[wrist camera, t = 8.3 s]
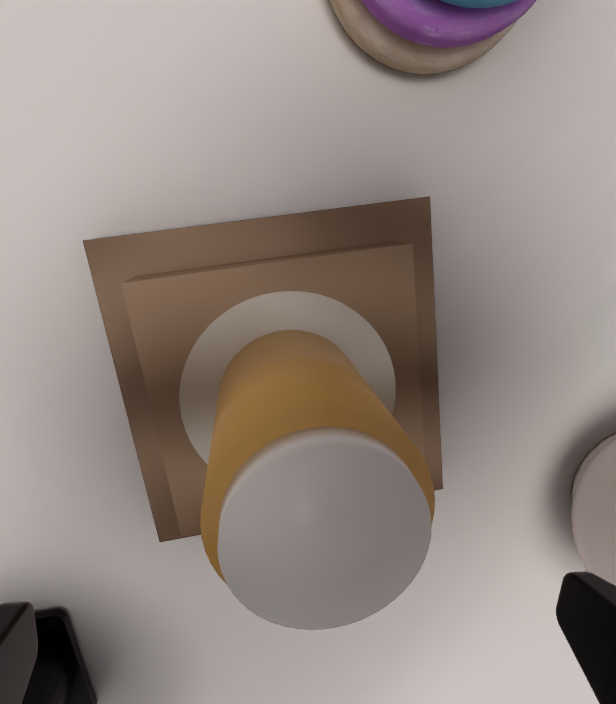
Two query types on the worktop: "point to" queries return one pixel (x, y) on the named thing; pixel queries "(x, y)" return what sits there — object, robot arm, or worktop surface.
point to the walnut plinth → (263, 325)
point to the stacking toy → (428, 30)
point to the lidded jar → (596, 510)
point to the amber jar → (311, 487)
